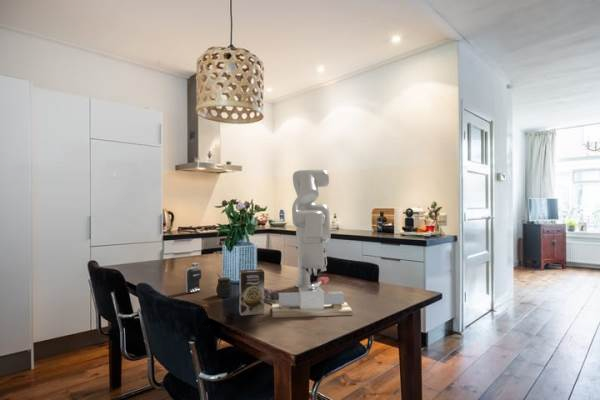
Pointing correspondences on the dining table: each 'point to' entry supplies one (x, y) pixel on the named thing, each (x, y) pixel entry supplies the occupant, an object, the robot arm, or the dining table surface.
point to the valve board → (311, 311)
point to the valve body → (311, 298)
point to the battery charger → (193, 280)
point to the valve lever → (318, 282)
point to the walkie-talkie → (269, 295)
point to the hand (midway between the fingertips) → (313, 284)
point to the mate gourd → (223, 287)
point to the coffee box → (251, 292)
